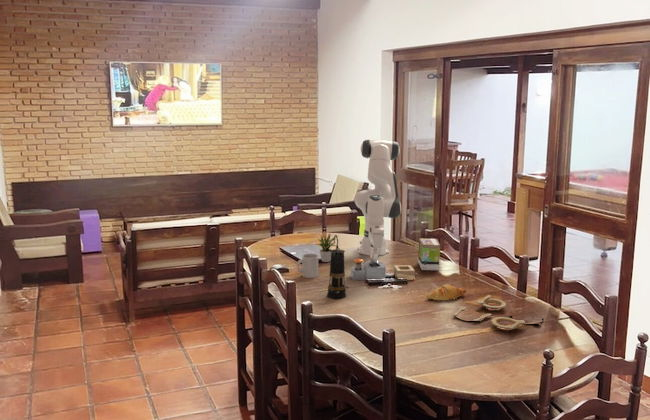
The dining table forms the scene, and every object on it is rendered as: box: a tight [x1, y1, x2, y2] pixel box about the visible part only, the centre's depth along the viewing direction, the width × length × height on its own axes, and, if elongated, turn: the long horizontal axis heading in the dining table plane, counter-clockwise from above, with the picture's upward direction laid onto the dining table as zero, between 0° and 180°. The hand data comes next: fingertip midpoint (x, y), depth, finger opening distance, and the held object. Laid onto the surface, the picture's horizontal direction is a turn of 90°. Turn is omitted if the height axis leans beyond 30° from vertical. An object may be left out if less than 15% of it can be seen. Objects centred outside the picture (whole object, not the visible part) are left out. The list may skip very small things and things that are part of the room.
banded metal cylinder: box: [369, 243, 379, 266], centre depth 321 cm, size 4×4×14 cm
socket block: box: [362, 261, 387, 281], centre depth 322 cm, size 10×10×7 cm
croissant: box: [425, 283, 467, 301], centre depth 292 cm, size 21×10×8 cm
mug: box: [296, 253, 319, 279], centre depth 323 cm, size 12×8×11 cm
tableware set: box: [452, 294, 525, 330], centre depth 268 cm, size 35×29×4 cm
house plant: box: [315, 232, 336, 263], centre depth 350 cm, size 14×14×16 cm
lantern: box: [326, 234, 349, 300], centre depth 291 cm, size 9×9×30 cm
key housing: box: [350, 266, 366, 281], centre depth 321 cm, size 7×7×5 cm
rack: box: [393, 264, 416, 281], centre depth 323 cm, size 10×9×5 cm
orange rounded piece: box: [353, 258, 364, 270], centre depth 321 cm, size 5×5×9 cm
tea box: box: [417, 238, 441, 271], centre depth 342 cm, size 15×10×15 cm, turn 179°
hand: (374, 251), depth 320 cm, fingers closed on banded metal cylinder, 4 cm apart
